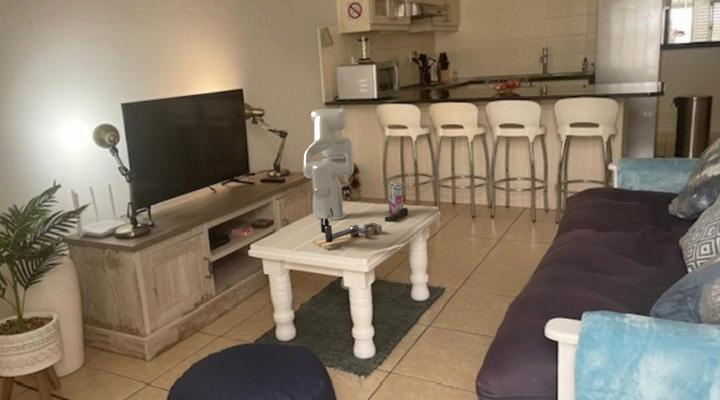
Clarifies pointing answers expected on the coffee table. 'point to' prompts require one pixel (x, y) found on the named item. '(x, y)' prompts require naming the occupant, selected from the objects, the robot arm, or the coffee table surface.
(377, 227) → the tan wooden panel
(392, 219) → the hand tool
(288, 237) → the coffee table surface
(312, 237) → the coffee table surface
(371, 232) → the walnut
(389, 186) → the candy bar box
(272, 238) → the coffee table surface
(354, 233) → the lever
